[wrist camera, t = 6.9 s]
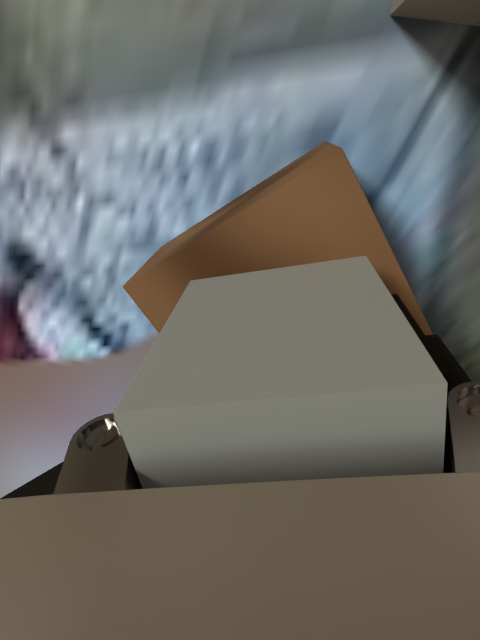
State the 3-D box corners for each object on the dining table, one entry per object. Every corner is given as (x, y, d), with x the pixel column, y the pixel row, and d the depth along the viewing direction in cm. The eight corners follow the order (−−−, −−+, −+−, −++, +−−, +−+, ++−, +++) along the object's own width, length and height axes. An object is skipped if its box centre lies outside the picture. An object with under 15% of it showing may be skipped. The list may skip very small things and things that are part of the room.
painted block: (365, 255, 11) (447, 382, 6) (373, 402, 13) (437, 598, 8) (190, 280, 12) (112, 412, 6) (223, 415, 14) (186, 600, 8)
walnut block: (324, 140, 15) (342, 147, 11) (406, 305, 18) (448, 365, 14) (162, 245, 18) (122, 286, 13) (255, 376, 20) (248, 447, 16)
